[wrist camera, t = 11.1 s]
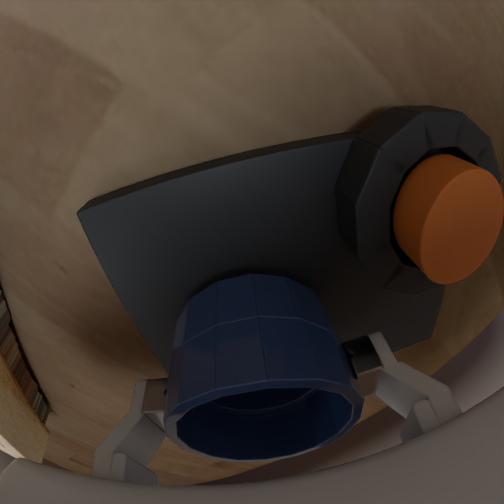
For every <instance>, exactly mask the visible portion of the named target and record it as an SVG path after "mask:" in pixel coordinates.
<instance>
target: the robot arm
mask: <svg viewBox="0 0 504 504" xmlns="http://www.w3.org/2000/svg"><path fill="white" fill-rule="evenodd" d="M342 344H343V347H344V349H345V351H346V354H347V356H348V359H349V361H350V364H351V366H352V369H353V371H354V374H355V376H356V379H357V381H358V384H359V387H360V389H361V392H362V394H363V397H364V398H365V397H368V396H371V395H374V394H375V396H376V397H378V398H379V399H380V400H382V401H383V402H384V403H386V404H387V405H388V406H390V407H391V408H392V409H394V410H395V411H396V412H398V413H399V414H401V415H402V416H403V417H405V418H406V421H405V423H404V425H403V426H402V428H401V431H400V432H399V434H400V437H401V439H402V442H403V443H401V444H399V445H396V446H394V447H391V448H389V449H386V450H383V451H381V452H378V453H375V454H372V455H370V456H367V457H364V458H361V459H358V460H354V461H351V462H348V463H344V464H341V465H338V466H334V467H330V468H326V469H322V470H318V471H314V472H309V473H305V474H300V475H295V476H290V477H285V478H279V479H272V480H265V481H257V482H249V483H239V484H226V485H207V486H206V485H205V486H175V485H157V474H156V473H155V472H153V471H152V470H150V469H148V468H146V467H147V465H148V463H149V462H150V460H151V459H152V457H153V456H154V454H155V452H156V451H157V449H158V448H159V446H160V444H161V443H162V441H163V440H164V438H165V436H166V433H165V428H164V422H163V417H164V407H165V398H166V390H167V382H168V378H161V379H148V380H138V381H137V382H136V384H135V389H134V393H133V398H132V403H131V409H130V414H126V415H125V416H124V418H123V419H122V420H121V421H120V422H119V423H118V424H117V426H116V427H115V428H114V429H113V430H112V431H111V433H110V434H109V435H108V436H107V437H106V438H105V439H104V441H103V442H102V443H101V444H100V445H99V446H98V448H97V449H96V450H95V455H94V461H93V466H92V472H91V476H87V475H82V474H78V473H73V472H69V471H65V470H61V469H58V468H54V467H50V466H47V465H44V464H40V463H37V462H34V461H31V460H28V459H26V458H22V457H19V458H17V459H15V460H14V461H13V462H12V463H11V464H10V465H9V466H7V468H6V469H4V470H3V472H2V473H1V474H0V504H504V387H502V388H501V389H499V390H498V391H496V392H495V393H494V394H492V395H491V396H489V397H488V398H486V399H485V400H483V401H482V402H480V403H478V404H477V405H475V406H473V407H472V408H470V409H469V410H467V411H465V412H463V413H462V411H461V409H460V407H459V405H458V404H457V402H456V400H455V399H454V396H453V394H452V393H451V391H450V389H449V387H448V386H446V385H444V384H442V383H441V382H439V381H437V380H435V379H433V378H431V377H429V376H427V375H426V374H424V373H422V372H420V371H418V370H416V369H414V368H413V367H411V366H409V365H407V364H405V363H403V362H401V361H400V362H397V360H396V359H395V357H394V355H393V353H392V351H391V349H390V347H389V346H388V344H387V342H386V340H385V338H384V336H383V335H382V333H381V332H380V331H377V332H374V333H371V334H368V335H364V336H361V337H358V338H355V339H352V340H349V341H345V342H342Z"/></svg>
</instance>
